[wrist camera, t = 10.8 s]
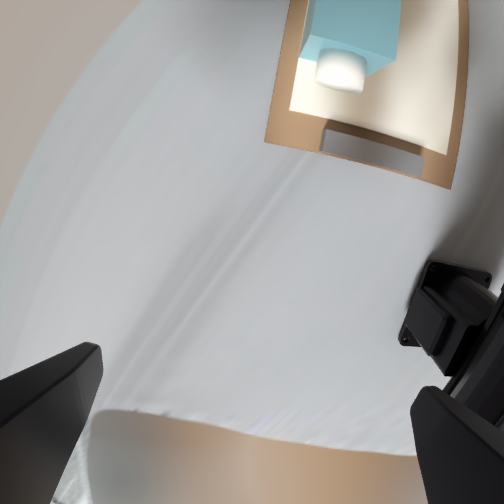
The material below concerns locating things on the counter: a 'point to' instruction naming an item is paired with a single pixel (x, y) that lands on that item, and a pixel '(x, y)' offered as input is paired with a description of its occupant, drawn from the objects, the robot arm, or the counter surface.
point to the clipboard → (382, 97)
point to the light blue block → (350, 40)
